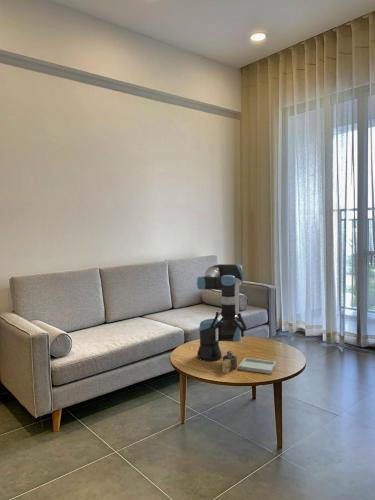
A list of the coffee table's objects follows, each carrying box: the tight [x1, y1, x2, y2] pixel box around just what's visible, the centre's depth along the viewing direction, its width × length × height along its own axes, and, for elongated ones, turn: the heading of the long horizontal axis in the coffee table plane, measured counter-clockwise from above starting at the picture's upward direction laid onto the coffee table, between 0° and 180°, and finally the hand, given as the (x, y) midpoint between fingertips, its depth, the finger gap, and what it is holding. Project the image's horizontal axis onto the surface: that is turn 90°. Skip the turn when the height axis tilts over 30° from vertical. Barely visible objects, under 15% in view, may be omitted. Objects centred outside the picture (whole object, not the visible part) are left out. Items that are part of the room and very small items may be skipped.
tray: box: [237, 357, 277, 375], centre depth 218 cm, size 18×14×2 cm
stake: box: [226, 350, 233, 359], centre depth 218 cm, size 3×3×9 cm
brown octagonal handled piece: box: [221, 354, 238, 374], centre depth 216 cm, size 12×8×6 cm, turn 157°
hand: (228, 341), depth 212 cm, fingers open, 13 cm apart
